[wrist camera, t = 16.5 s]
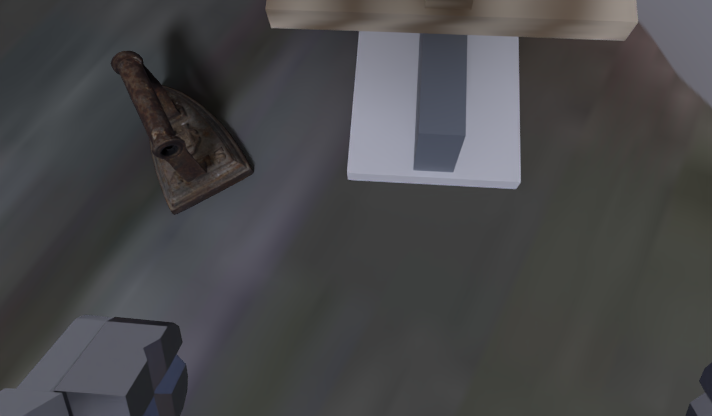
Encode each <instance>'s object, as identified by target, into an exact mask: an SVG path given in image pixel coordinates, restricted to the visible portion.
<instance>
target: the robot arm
mask: <svg viewBox="0 0 712 416" xmlns="http://www.w3.org/2000/svg"><path fill="white" fill-rule="evenodd" d="M181 344H182V338H181V333H180V328H179V326H178V325H176V324H175V323H172V322H162V321H151V320H141V319H131V318H120V317H114V318H112V317H104V316H93V315H83V316H81V317H78V318H76V319H75V320H74V321H73V322H72V323H71V325H70V326H69V327H68V328H67V329H66V331H65V332H64V333H63V334H62V335H61V336H60V338H59V339H58V340H57V341H56V342H55V343H54V345H53V346H52V347H51V348H50V349H49V351H48V352H47V353H46V354H45V355H44V356H43V358H42V359H41V360H40V361H39V362H38V363H37V365H36V366H35V367H34V368H33V369H32V371H31V372H30V373H29V374H28V375H27V376H26V378H25V379H24V380H23V381H22V382H21V383H20V385H19V386H18V387H17V388H16V389H9V388H5V389H4V390H2V391H0V416H180V414H181V412H182V410H183V407H184V402H185V398H186V394H187V386H188V374H187V367H186V363H185V362H184V361H183V360H182V359H181V358H180V357H179V356H178V355H177V352H178V350H179V348H180V346H181ZM699 382H700V384H701V386H702V388H703V389H704V391H705V393H704V394H702V395H701V396H699V397H698V398H696V399H695V400H694V401H692V402H691V403H690V404H689V407H688V410H687V413H686V416H712V363H710V364H709V365H708V366H707V367H706V368H705V369H704V371H703V373H702V376H701V378H700V380H699Z"/></svg>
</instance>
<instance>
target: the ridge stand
mask: <svg viewBox="0 0 712 416" xmlns="http://www.w3.org/2000/svg"><path fill="white" fill-rule="evenodd" d="M347 176H348V180H359V181H378V182H396V183H415V184H433V185H451V186H470V187H488V188H506V189H516V188H517V187H518V185H519V184H520V183H521V171H520V106H519V42H518V37H511V36H483V35H456V34H428V33H401V32H373V31H359V38H358V50H357V62H356V74H355V85H354V97H353V109H352V121H351V132H350V144H349V156H348V168H347Z"/></svg>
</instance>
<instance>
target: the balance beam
mask: <svg viewBox="0 0 712 416" xmlns="http://www.w3.org/2000/svg"><path fill="white" fill-rule="evenodd" d="M266 13H267V16H268V19H269V22H270V25H271V28H290V29H318V30H346V31H373V32H401V33H428V34H456V35H483V36H511V37H539V38H566V39H594V40H621V41H625V40H626V38H627V37H628V36H629V34H630V33H631V31H632V30H633V29H634V27H635V26H636V24H637V23H638V14H637V4H636V0H267V2H266Z"/></svg>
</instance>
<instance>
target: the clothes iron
mask: <svg viewBox="0 0 712 416" xmlns="http://www.w3.org/2000/svg"><path fill="white" fill-rule="evenodd" d="M111 66H112V68H113V70H114V71H115V72H116V73H117V74H120V76H121V78H122V80H123V82H124V84H125V86H126V88H127V91H128V93H129V95H130V97H131V100H132V102H133V104H134V106H135V108H136V110H137V112H138V114H139V117H140V119H141V121H142V123H143V125H144V127H145V129H146V132H147V134H148V136H149V140H150V148H151V154H152V158H153V163H154V167H155V170H156V174H157V177H158V180H159V183H160V186H161V189H162V191H163V194H164V197H165V199H166V202H167V204H168V206H169V209H170V210H171V212H172V213H173V214H174V215H175V214H178V213H180V212H182V211H184V210H186V209H188V208H190V207H192V206H194V205H196V204H198V203H200V202H202V201H203V200H205V199H207V198H209V197H211V196H213V195H215V194H217V193H219V192H221V191H222V190H224V189H226V188H228V187H230V186H232V185H234V184H235V183H237V182H239V181H241V180H243V179H245V178H246V177H248V176H250V175H252V174H253V170H252V168H251V166H250V164H249V162H248V161H247V159H246V157H245V155H244V154H243V152H242V151H241V149H240V148H239V146H238V144H237V143H236V142H235V140H234V139H233V137H232V136H231V135H230V133H229V132H228V131H227V130H226V128H225V127H224V126H223V125H222V124H221V123H220V122H219V121H218V120H217V119H216V118H215V117H214V116H213V115H212V114H211V113H210V112H209V111H208V110H207V109H206V108H204V107H203V106H202V105H201V104H199V103H198V102H197V101H195V100H194V99H192V98H191V97H189V96H188V95H186V94H184V93H182V92H180V91H178V90H175V89H173V88H170V87H167V86H163V85H161V84H160V82H159V81H158V80H157V79H156V78H155V77H154V76H153V74H152V73H151V72H150V71H149V70H148V69H147V68H146V67H145V66H144V64H143V59H142V57H141V56H140V55H139V54H137V53H135V52H133V51H122V52H119V53H118V54H116V55H115V56H114V57H113V59H112V61H111Z"/></svg>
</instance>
